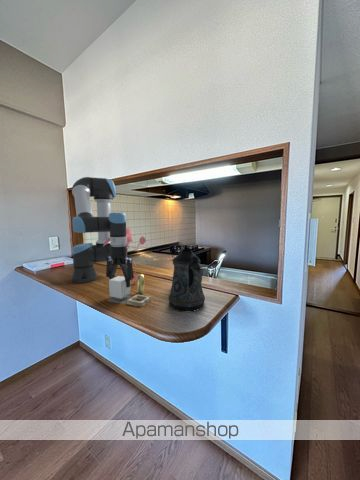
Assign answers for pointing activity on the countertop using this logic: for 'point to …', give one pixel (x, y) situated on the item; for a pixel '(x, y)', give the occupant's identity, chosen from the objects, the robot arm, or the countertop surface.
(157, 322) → the countertop surface
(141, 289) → the pin
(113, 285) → the white block
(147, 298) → the socket board
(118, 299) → the peg plate
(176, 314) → the countertop surface
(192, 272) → the beer stein
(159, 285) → the countertop surface
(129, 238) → the pink flower stem
